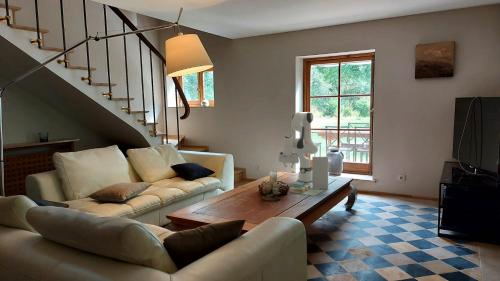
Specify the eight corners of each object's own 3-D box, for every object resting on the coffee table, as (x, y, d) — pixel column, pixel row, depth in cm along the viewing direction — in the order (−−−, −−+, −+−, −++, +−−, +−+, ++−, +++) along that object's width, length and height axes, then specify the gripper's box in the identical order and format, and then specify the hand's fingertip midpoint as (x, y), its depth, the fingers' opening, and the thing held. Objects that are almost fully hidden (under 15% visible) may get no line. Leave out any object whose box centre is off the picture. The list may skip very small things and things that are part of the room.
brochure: (327, 187, 333) (327, 156, 330) (328, 188, 328) (328, 157, 325) (312, 187, 335) (312, 156, 331) (312, 188, 329) (312, 157, 326)
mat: (311, 189, 328) (311, 188, 328) (323, 190, 321) (323, 190, 321) (302, 194, 311) (302, 193, 311) (314, 195, 305) (314, 195, 304)
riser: (299, 187, 334) (298, 183, 334) (310, 189, 327) (310, 185, 327) (289, 192, 320) (289, 187, 319) (301, 193, 313) (301, 189, 312)
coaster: (297, 185, 329) (297, 181, 329) (305, 186, 325) (305, 182, 324) (293, 186, 323) (293, 183, 323) (301, 187, 318) (301, 184, 318)
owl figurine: (284, 199, 297) (283, 179, 295) (276, 202, 287) (275, 182, 285) (266, 196, 308) (266, 177, 306) (258, 199, 299) (258, 179, 297)
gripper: (300, 153, 323) (300, 167, 325) (281, 151, 335) (281, 165, 337) (296, 154, 318) (297, 168, 320) (277, 152, 330) (277, 166, 332)
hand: (288, 167), depth 328 cm, fingers open, 5 cm apart
